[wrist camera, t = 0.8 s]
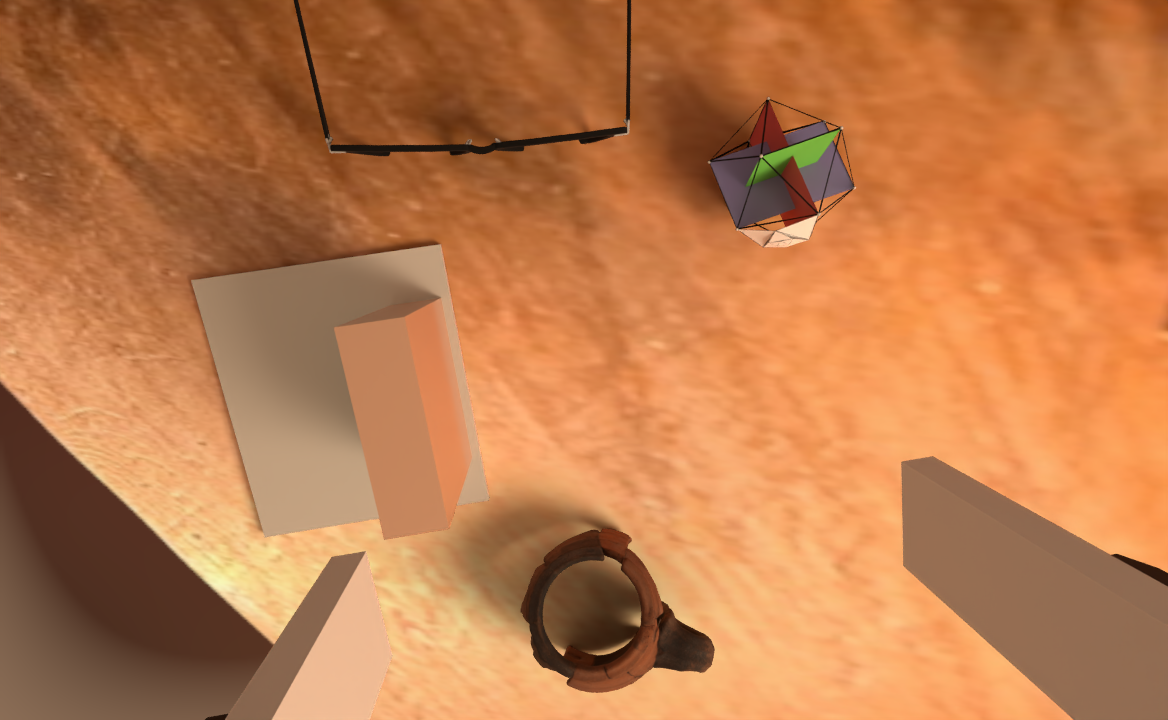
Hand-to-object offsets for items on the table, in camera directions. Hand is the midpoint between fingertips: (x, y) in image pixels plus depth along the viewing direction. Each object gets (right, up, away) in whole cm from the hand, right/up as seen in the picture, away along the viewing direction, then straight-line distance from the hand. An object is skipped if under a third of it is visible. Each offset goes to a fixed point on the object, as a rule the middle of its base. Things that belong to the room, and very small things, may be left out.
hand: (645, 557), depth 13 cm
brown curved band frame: (0, -11, +25) cm, 28 cm away
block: (-11, +3, +21) cm, 24 cm away
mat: (-16, +2, +21) cm, 26 cm away
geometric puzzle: (+9, +15, +21) cm, 27 cm away
